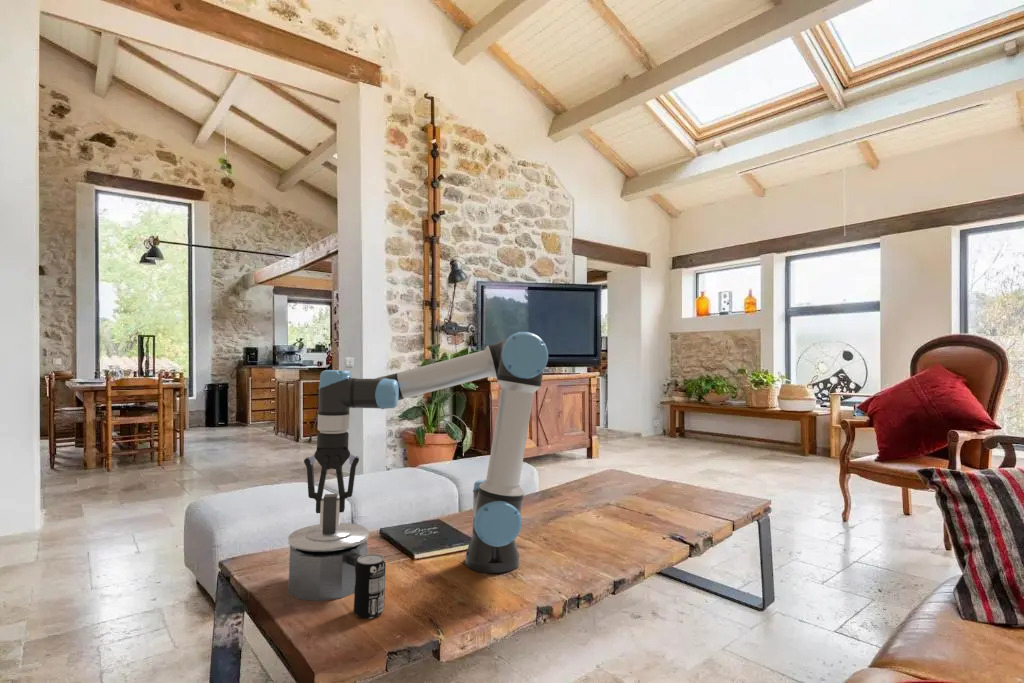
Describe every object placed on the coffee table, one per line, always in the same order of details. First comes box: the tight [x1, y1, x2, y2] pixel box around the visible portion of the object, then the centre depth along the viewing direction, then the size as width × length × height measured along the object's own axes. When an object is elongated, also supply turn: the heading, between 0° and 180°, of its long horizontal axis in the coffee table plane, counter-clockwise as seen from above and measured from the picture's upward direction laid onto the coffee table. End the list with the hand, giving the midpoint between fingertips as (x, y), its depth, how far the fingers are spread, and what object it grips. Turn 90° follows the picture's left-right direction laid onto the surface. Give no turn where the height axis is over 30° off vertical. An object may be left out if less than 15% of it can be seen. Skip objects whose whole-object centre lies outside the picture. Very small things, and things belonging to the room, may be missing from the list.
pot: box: [287, 540, 368, 602], centre depth 135 cm, size 24×18×10 cm
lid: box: [287, 493, 370, 552], centre depth 135 cm, size 19×19×11 cm
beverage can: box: [353, 553, 386, 620], centre depth 121 cm, size 7×7×12 cm
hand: (329, 525), depth 135 cm, fingers closed on lid, 3 cm apart
